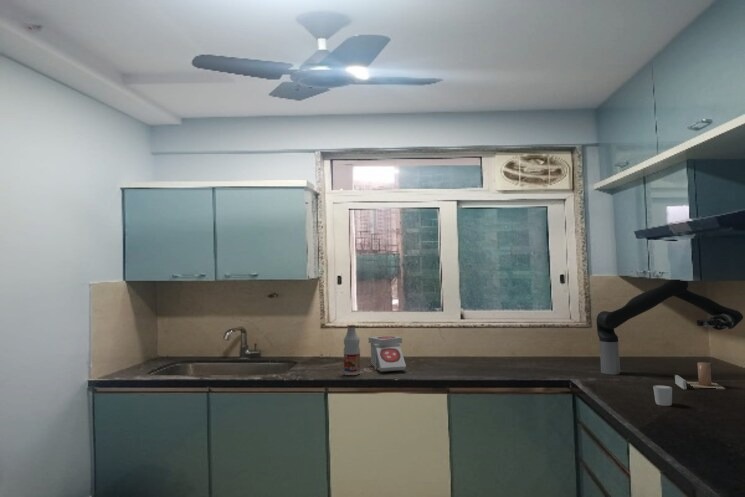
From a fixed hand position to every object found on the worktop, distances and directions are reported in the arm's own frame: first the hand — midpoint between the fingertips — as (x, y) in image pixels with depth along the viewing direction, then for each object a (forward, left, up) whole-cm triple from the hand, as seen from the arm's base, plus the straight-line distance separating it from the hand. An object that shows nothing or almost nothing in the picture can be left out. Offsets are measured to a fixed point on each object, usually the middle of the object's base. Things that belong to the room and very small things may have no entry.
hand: (709, 324), depth 235 cm
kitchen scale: (-6, -166, -28) cm, 169 cm away
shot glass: (+46, -33, -28) cm, 64 cm away
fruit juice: (+13, -182, -28) cm, 185 cm away
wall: (+12, -17, -28) cm, 35 cm away
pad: (+9, -6, -28) cm, 30 cm away
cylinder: (+9, -6, -27) cm, 30 cm away
